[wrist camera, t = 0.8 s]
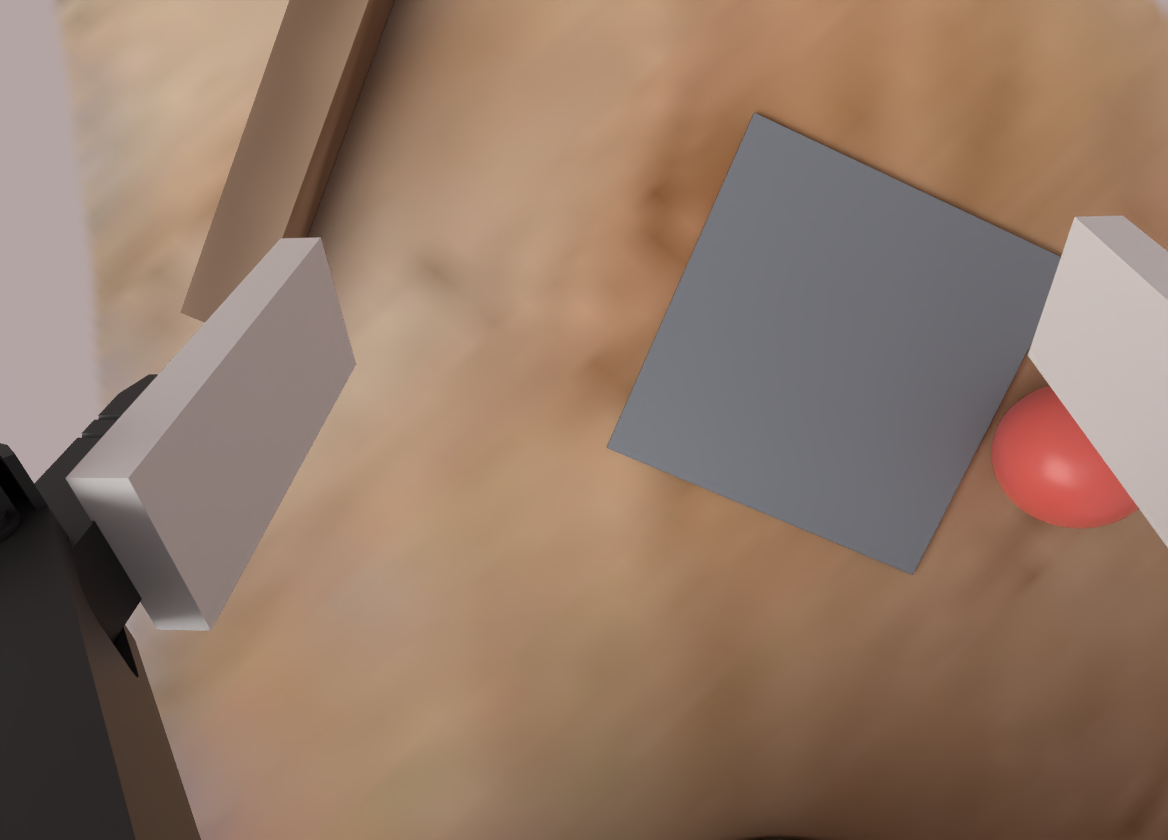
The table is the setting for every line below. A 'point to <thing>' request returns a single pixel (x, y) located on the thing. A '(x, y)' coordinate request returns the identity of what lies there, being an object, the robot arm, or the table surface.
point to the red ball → (1055, 466)
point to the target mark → (835, 347)
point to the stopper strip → (288, 140)
